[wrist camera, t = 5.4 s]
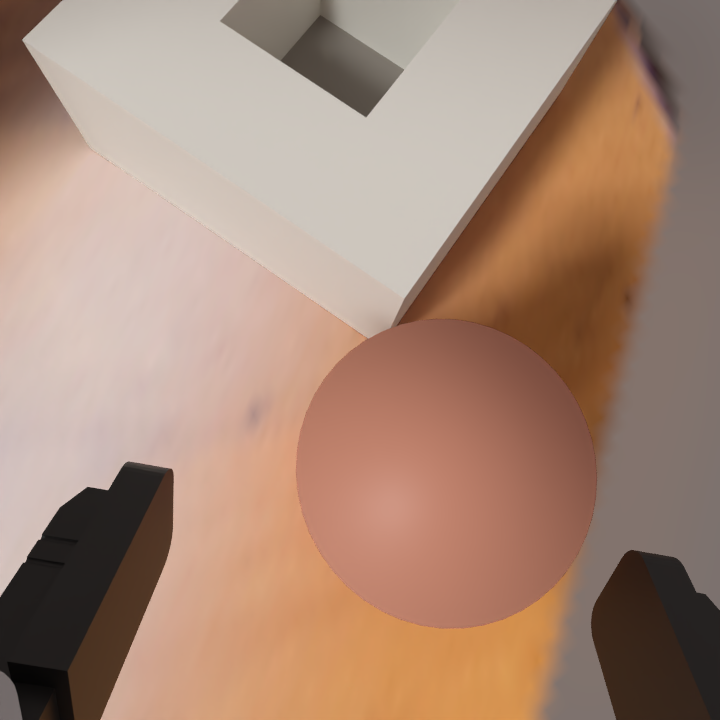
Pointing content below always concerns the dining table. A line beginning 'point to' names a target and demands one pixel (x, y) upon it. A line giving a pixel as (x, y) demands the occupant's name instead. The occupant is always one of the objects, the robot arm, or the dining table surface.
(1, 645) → the robot arm
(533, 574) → the pin
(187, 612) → the dining table surface
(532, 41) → the block
